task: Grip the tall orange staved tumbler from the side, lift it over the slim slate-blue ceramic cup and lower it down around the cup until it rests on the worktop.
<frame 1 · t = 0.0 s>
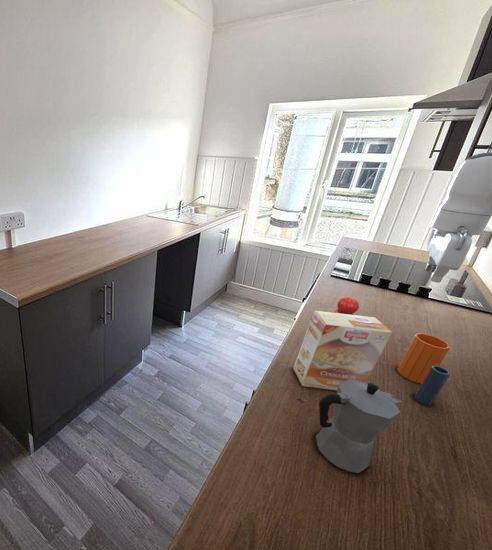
hand: (431, 275, 77), 29 cm above the worktop, tool pointing down, fingers open, 8 cm apart
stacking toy: (329, 349, 94), on the worktop
orange staved tumbler: (412, 375, 84), on the worktop
coffeecake box: (325, 381, 80), on the worktop
slim cup: (422, 400, 76), on the worktop
coffeepot: (335, 452, 61), on the worktop
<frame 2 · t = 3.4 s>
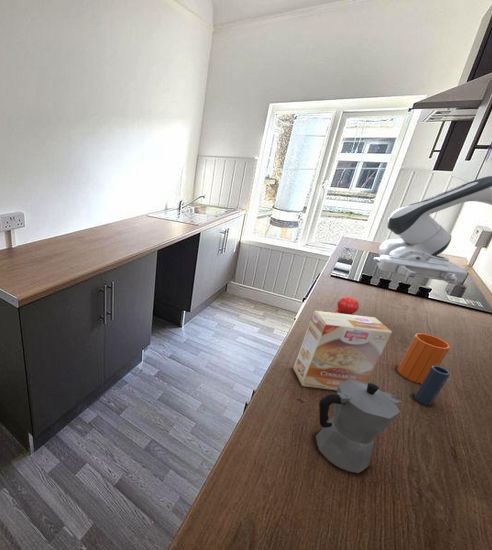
hand: (432, 277, 85), 26 cm above the worktop, tool horizontal, fingers open, 8 cm apart
nothing on the worktop moved.
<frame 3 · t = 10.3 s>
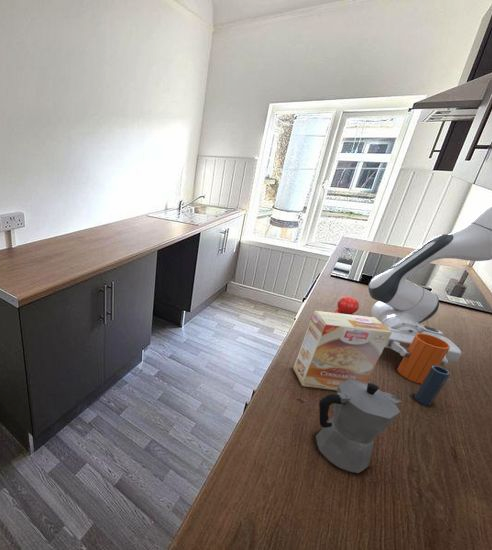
hand: (425, 358, 81), 7 cm above the worktop, tool horizontal, fingers closed on orange staved tumbler, 7 cm apart
orange staved tumbler: (412, 375, 84), on the worktop, touching gripper
everything else where it was.
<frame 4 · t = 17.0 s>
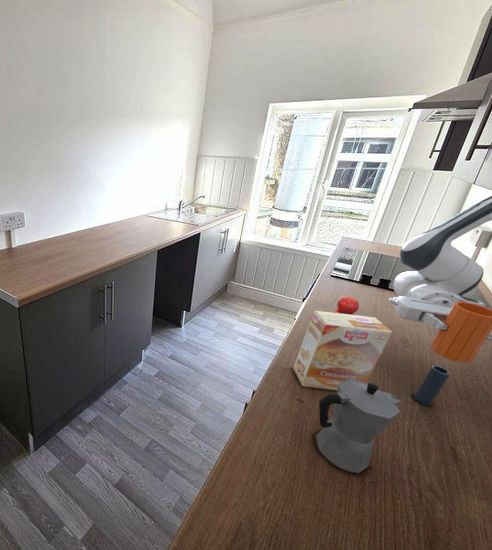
hand: (466, 332, 66), 21 cm above the worktop, tool horizontal, fingers closed on orange staved tumbler, 7 cm apart
orange staved tumbler: (450, 353, 70), point 15 cm above the worktop, touching gripper
everything else where it was.
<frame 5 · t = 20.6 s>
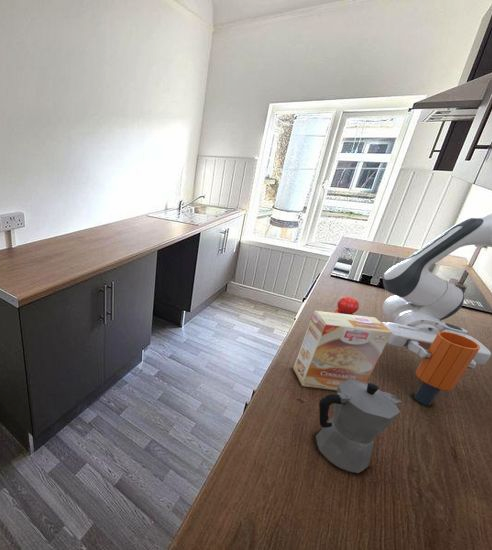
hand: (449, 361, 70), 13 cm above the worktop, tool horizontal, fingers closed on orange staved tumbler, 7 cm apart
orange staved tumbler: (433, 379, 73), point 7 cm above the worktop, touching gripper
everything else where it was.
when the fingers open (6 cm above the worktop, at t = 23.6 s): orange staved tumbler stays where it is, on the worktop.
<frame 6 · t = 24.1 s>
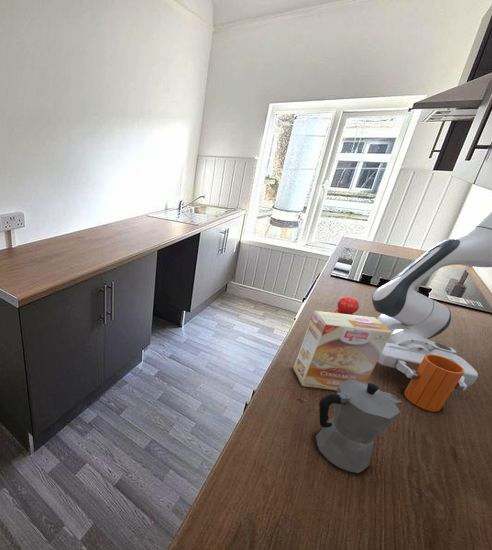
hand: (437, 382, 72), 7 cm above the worktop, tool horizontal, fingers open, 8 cm apart
orange staved tumbler: (421, 400, 76), on the worktop
everything else where it was.
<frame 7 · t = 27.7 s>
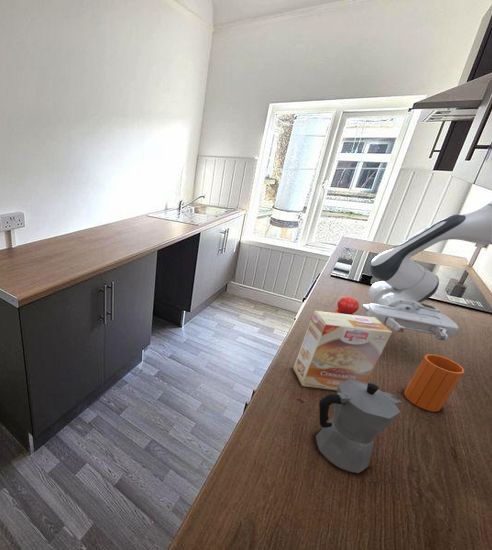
hand: (421, 333, 81), 13 cm above the worktop, tool horizontal, fingers open, 8 cm apart
nothing on the worktop moved.
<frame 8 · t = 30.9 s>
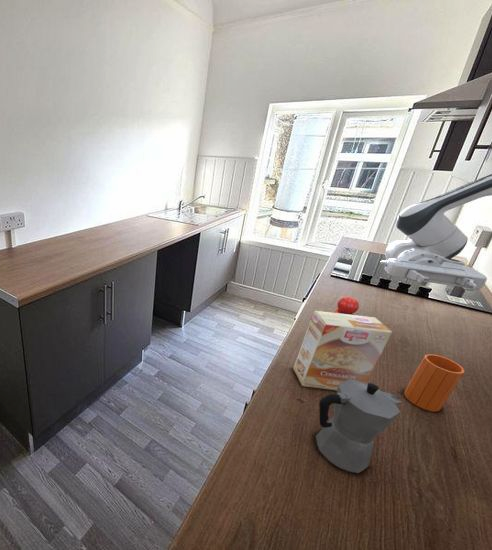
hand: (447, 284, 75), 28 cm above the worktop, tool horizontal, fingers open, 8 cm apart
nothing on the worktop moved.
at the end: orange staved tumbler 0.2 cm from the slim cup (horizontally); orange staved tumbler on the worktop; the gripper is holding nothing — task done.
